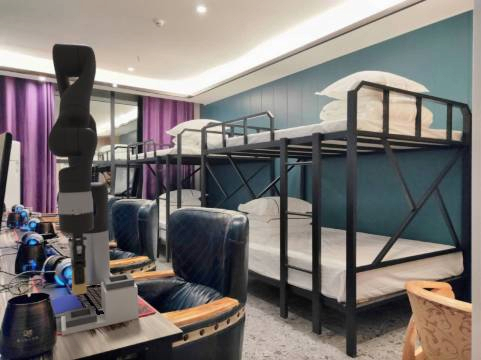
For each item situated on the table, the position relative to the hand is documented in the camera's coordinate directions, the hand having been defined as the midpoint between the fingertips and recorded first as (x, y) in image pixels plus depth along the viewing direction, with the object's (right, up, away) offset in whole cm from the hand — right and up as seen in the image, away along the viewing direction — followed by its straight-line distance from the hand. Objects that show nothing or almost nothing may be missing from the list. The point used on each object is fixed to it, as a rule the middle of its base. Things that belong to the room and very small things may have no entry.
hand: (79, 281), depth 83 cm
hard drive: (-9, -11, +12) cm, 18 cm away
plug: (0, -3, 0) cm, 3 cm away
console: (+4, -10, +3) cm, 11 cm away
